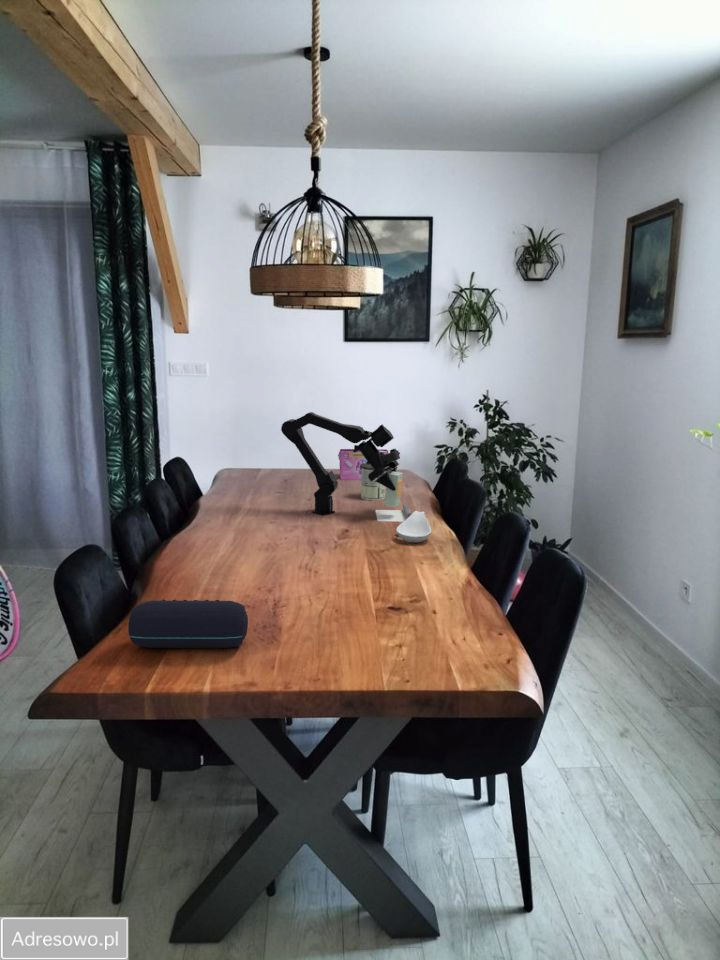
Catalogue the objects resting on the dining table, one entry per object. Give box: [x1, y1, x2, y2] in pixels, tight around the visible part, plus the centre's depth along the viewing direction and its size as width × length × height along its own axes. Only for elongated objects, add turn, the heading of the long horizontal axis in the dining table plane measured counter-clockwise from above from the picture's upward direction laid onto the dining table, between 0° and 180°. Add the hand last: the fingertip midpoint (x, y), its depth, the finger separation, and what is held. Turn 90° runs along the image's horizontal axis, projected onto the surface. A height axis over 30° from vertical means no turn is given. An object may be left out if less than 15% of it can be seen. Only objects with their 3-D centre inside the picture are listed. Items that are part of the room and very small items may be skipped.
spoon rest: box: [395, 510, 432, 544], centre depth 228 cm, size 24×12×7 cm, turn 168°
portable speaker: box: [127, 599, 249, 649], centre depth 144 cm, size 25×10×10 cm, turn 92°
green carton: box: [384, 471, 404, 508], centre depth 246 cm, size 6×4×12 cm
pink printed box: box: [337, 448, 389, 481], centre depth 318 cm, size 24×8×14 cm, turn 94°
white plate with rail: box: [375, 502, 412, 523], centre depth 250 cm, size 16×12×4 cm
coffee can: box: [360, 463, 386, 501], centre depth 279 cm, size 10×10×14 cm
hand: (397, 488), depth 246 cm, fingers closed on green carton, 5 cm apart
